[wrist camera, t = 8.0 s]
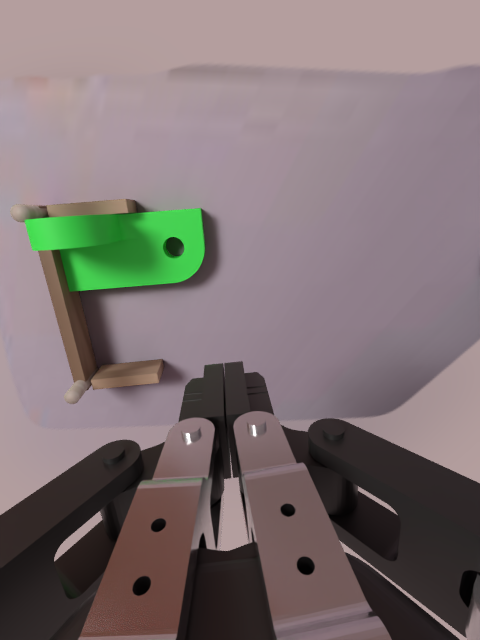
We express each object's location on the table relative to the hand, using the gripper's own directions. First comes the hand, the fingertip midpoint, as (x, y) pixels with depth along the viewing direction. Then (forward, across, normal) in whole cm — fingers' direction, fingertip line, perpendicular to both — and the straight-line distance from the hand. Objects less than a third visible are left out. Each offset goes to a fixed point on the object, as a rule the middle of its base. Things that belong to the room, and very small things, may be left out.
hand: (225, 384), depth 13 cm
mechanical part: (+19, +7, -4) cm, 21 cm away
